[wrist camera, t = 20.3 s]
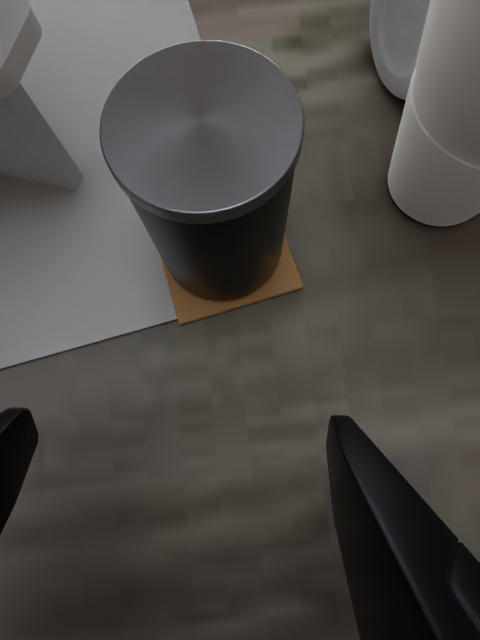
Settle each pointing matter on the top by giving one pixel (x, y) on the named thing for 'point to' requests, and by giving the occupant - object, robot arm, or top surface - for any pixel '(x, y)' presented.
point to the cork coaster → (200, 308)
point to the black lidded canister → (207, 160)
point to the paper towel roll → (441, 121)
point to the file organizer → (73, 175)
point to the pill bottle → (396, 40)
